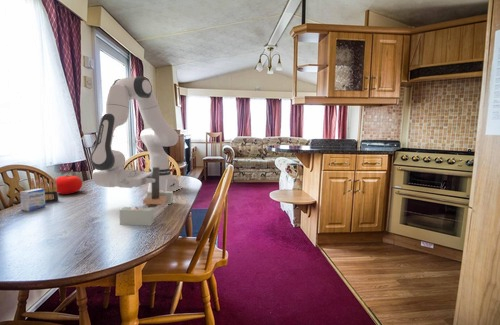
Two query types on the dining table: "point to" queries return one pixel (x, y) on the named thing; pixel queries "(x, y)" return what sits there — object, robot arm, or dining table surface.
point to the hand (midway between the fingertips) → (157, 179)
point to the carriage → (155, 189)
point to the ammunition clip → (49, 192)
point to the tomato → (68, 184)
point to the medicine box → (32, 199)
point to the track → (144, 211)
